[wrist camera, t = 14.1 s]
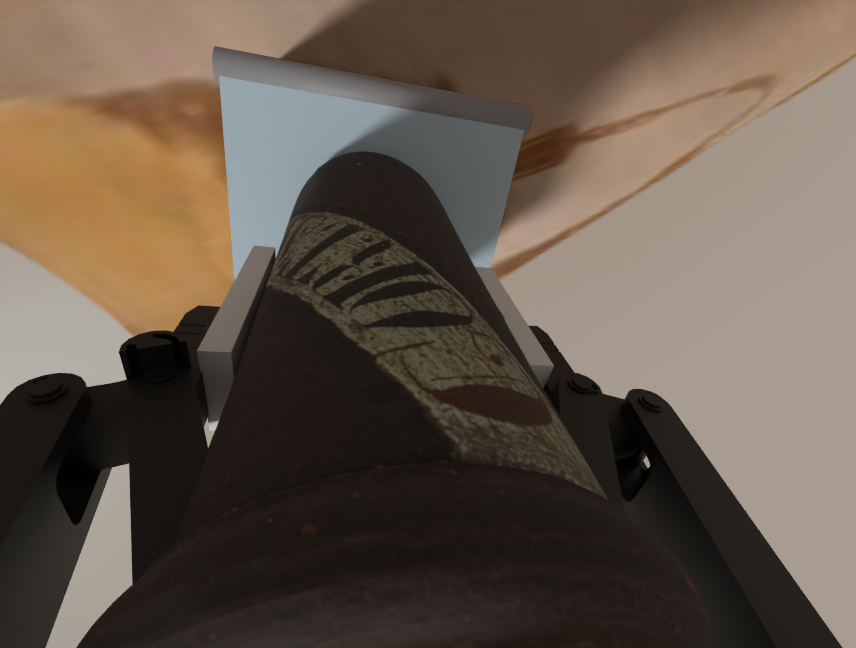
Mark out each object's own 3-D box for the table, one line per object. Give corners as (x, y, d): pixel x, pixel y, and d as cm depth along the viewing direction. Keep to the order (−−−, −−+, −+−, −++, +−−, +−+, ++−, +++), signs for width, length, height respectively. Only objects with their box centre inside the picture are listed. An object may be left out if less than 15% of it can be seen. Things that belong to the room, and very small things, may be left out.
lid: (466, 346, 28) (471, 357, 27) (241, 334, 25) (235, 347, 23) (524, 106, 21) (534, 106, 20) (220, 48, 18) (210, 44, 16)
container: (415, 114, 18) (914, 593, 2) (474, 274, 23) (753, 789, 7) (248, 191, 19) (-410, 1011, 3) (340, 331, 24) (304, 916, 8)
